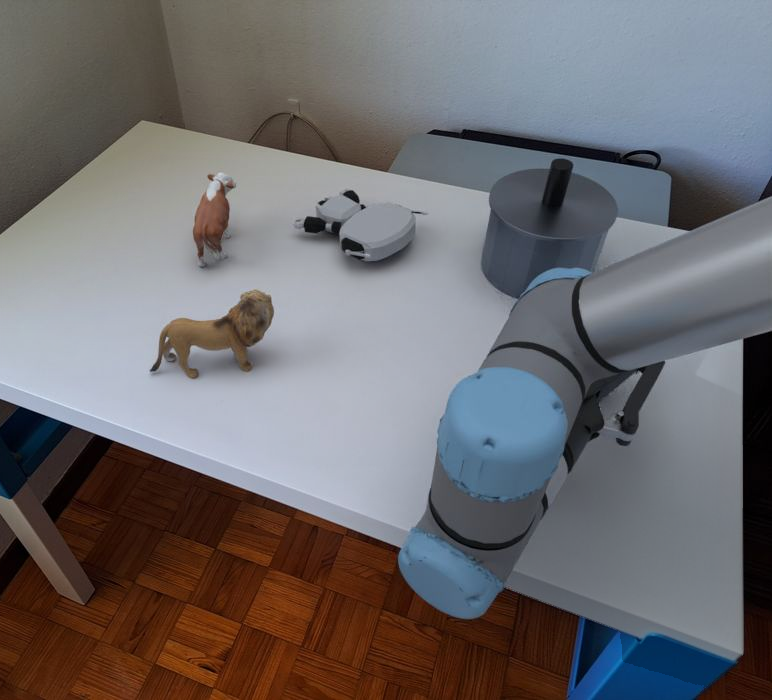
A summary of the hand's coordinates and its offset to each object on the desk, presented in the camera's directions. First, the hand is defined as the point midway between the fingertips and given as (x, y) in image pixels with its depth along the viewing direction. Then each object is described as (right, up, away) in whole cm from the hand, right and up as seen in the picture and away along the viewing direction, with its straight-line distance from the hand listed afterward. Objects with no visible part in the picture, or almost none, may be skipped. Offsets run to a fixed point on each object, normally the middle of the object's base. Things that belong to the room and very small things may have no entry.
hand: (625, 301), depth 71 cm
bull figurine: (-45, +9, +23) cm, 52 cm away
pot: (-4, +6, +17) cm, 19 cm away
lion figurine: (-43, -6, +8) cm, 44 cm away
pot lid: (-4, +12, +11) cm, 17 cm away
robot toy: (-26, +10, +23) cm, 36 cm away
